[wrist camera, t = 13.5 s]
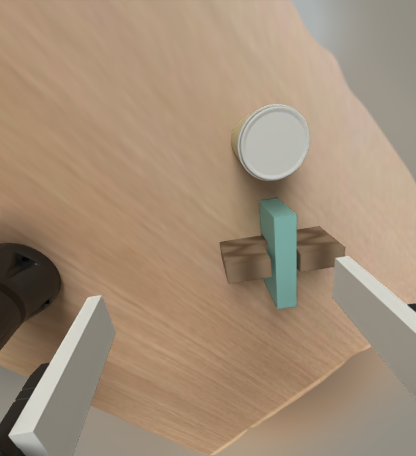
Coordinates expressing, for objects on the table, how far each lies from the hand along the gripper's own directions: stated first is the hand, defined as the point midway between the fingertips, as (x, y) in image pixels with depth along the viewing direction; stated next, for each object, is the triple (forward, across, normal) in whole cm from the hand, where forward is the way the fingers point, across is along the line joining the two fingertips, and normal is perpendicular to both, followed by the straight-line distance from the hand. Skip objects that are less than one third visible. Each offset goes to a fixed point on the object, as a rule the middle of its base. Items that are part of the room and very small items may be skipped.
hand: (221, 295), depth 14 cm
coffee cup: (+33, +10, +5) cm, 35 cm away
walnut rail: (+33, +12, -15) cm, 38 cm away
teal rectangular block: (+33, +12, -15) cm, 38 cm away
